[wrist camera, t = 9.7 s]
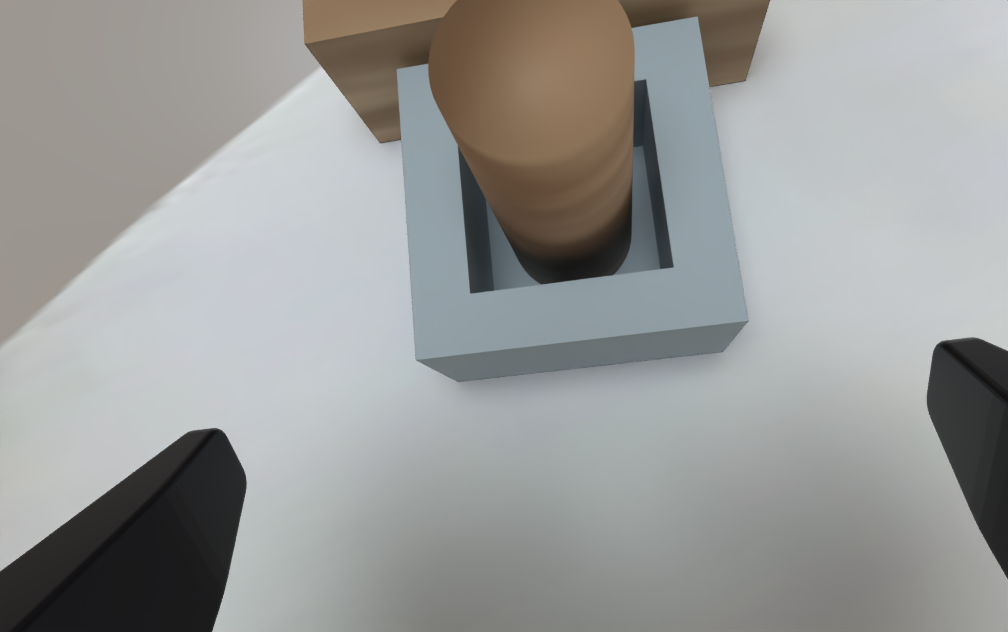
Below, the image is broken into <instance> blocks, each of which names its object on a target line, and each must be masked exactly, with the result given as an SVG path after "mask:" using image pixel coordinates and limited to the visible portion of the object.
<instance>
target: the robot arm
mask: <svg viewBox="0 0 1008 632" xmlns="http://www.w3.org/2000/svg"><path fill="white" fill-rule="evenodd" d="M927 407H928V411H929V415H930V418H931V420H932V422H933V425H934V427H935V429H936V432H937V434H938V436H939V438H940V441H941V443H942V445H943V448H944V450H945V452H946V455H947V457H948V459H949V462H950V464H951V466H952V469H953V471H954V473H955V476H956V478H957V480H958V483H959V485H960V487H961V490H962V492H963V494H964V496H965V499H966V501H967V503H968V506H969V508H970V510H971V512H972V515H973V517H974V519H975V521H976V523H977V525H978V527H979V529H980V531H981V533H982V535H983V537H984V538H985V540H986V542H987V544H988V546H989V547H990V549H991V551H992V553H993V554H994V556H995V558H996V560H997V561H998V563H999V565H1000V566H1001V568H1002V570H1003V572H1004V573H1005V575H1006V577H1007V578H1008V351H1007V350H1004V349H1002V348H1000V347H998V346H995V345H993V344H991V343H988V342H986V341H984V340H981V339H979V338H972V337H971V338H962V339H954V340H946V341H941V342H940V343H938V344H937V345H936V347H935V349H934V351H933V356H932V363H931V370H930V377H929V383H928V390H927ZM246 485H247V482H246V475H245V472H244V469H243V467H242V465H241V463H240V461H239V459H238V457H237V455H236V453H235V451H234V449H233V448H232V446H231V444H230V442H229V440H228V438H227V436H226V434H225V433H224V432H223V431H222V430H220V429H217V428H210V429H202V430H194V431H190V432H188V433H186V434H185V435H183V436H182V437H181V438H179V439H178V440H176V441H175V442H174V443H172V444H171V445H170V446H168V447H167V448H166V449H164V450H163V451H162V452H160V453H159V454H158V455H156V456H155V457H154V458H152V459H151V460H150V461H148V462H147V463H146V464H144V465H143V466H142V467H140V468H139V469H137V470H136V471H135V472H133V473H132V474H131V475H129V476H128V477H127V478H125V479H124V480H123V481H121V482H120V483H119V484H117V485H116V486H115V487H113V488H112V489H111V490H109V491H108V492H107V493H105V494H104V495H103V496H101V497H100V498H98V499H97V500H96V501H94V502H93V503H92V504H90V505H89V506H88V507H86V508H85V509H84V510H82V511H81V512H80V513H78V514H77V515H76V516H74V517H73V518H72V519H70V520H69V521H68V522H66V523H65V524H64V525H62V526H61V527H59V528H58V529H57V530H55V531H54V532H53V533H51V534H50V535H49V536H47V537H46V538H45V539H43V540H42V541H41V542H39V543H38V544H37V545H35V546H34V547H33V548H31V549H30V550H29V551H27V552H26V553H25V554H23V555H22V556H20V557H19V558H18V559H16V560H15V561H14V562H12V563H11V564H10V565H8V566H7V567H6V568H4V569H3V570H2V571H0V632H212V630H213V627H214V624H215V621H216V618H217V615H218V611H219V608H220V605H221V601H222V598H223V595H224V591H225V587H226V583H227V579H228V575H229V570H230V565H231V560H232V555H233V551H234V546H235V541H236V536H237V532H238V527H239V522H240V517H241V512H242V508H243V503H244V498H245V493H246Z"/></svg>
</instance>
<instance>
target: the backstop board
mask: <svg viewBox="0 0 1008 632" xmlns="http://www.w3.org/2000/svg"><path fill="white" fill-rule="evenodd" d="M456 1H457V0H303V21H304V41H305V45H306V46H307V48H308V49H309V50H310V52H311V53H312V54H313V56H314V57H315V58H316V60H317V61H318V62H319V64H320V65H321V66H322V67H323V69H324V70H325V71H326V73H327V74H328V75H329V77H330V78H331V79H332V81H333V82H334V83H335V85H336V86H337V87H338V89H339V90H340V91H341V92H342V94H343V95H344V96H345V98H346V99H347V100H348V102H349V103H350V104H351V106H352V107H353V108H354V110H355V111H356V112H357V113H358V115H359V116H360V117H361V119H362V120H363V121H364V123H365V124H366V125H367V127H368V128H369V129H370V131H371V132H372V133H373V134H374V136H375V137H376V138H377V140H378V141H379V142H380V143H383V142H389V141H394V140H400V139H401V127H400V112H399V97H398V82H397V69H401V68H407V67H412V66H418V65H424V64H428V61H429V53H430V48H431V44H432V40H433V37H434V35H435V33H436V30H437V28H438V26H439V24H440V22H441V20H442V19H443V17H444V15H445V14H446V13H447V11H448V10H449V9H450V7H451V6H452V5H453V4H454V3H455V2H456ZM618 1H619V3H620V4H621V6H622V8H623V9H624V11H625V13H626V15H627V17H628V20H629V22H630V25H631V28H635V27H641V26H646V25H652V24H658V23H663V22H669V21H675V20H681V19H686V18H692V17H698V22H699V28H700V34H701V40H702V46H703V52H704V58H705V64H706V70H707V76H708V82H709V87H711V86H716V85H722V84H728V83H734V82H740V81H746V77H747V74H748V71H749V68H750V64H751V61H752V58H753V54H754V51H755V48H756V45H757V41H758V38H759V35H760V32H761V28H762V25H763V22H764V19H765V15H766V12H767V9H768V5H769V2H770V0H618Z"/></svg>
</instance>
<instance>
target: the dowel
mask: <svg viewBox="0 0 1008 632" xmlns="http://www.w3.org/2000/svg"><path fill="white" fill-rule="evenodd" d="M634 64H635V47H634V37H633V32H632V28H631V25H630V22H629V20H628V17H627V15H626V13H625V11H624V9H623V8H622V6H621V4H620V3H619V1H618V0H457V1H456V2H455V3H454V4H453V5H452V6H451V7H450V9H449V10H448V11H447V13H446V14H445V15H444V17H443V19H442V20H441V22H440V24H439V26H438V28H437V30H436V33H435V35H434V37H433V40H432V44H431V48H430V53H429V61H428V76H429V82H430V88H431V91H432V94H433V98H434V100H435V102H436V104H437V106H438V108H439V110H440V112H441V114H442V116H443V118H444V120H445V122H446V124H447V126H448V127H449V129H450V131H451V133H452V135H453V137H454V139H455V141H456V143H457V145H458V146H459V148H460V150H461V152H462V154H463V156H464V158H465V160H466V162H467V164H468V166H469V167H470V169H471V171H472V173H473V175H474V177H475V179H476V181H477V183H478V185H479V186H480V188H481V190H482V192H483V194H484V196H485V198H486V200H487V202H488V204H489V205H490V207H491V209H492V211H493V213H494V215H495V217H496V219H497V221H498V223H499V225H500V226H501V228H502V230H503V232H504V234H505V236H506V238H507V240H508V242H509V244H510V245H511V247H512V249H513V251H514V253H515V255H516V257H517V259H518V261H519V263H520V264H521V266H522V267H523V269H524V270H525V271H526V273H527V274H528V275H529V276H530V277H531V278H533V279H534V280H535V281H537V282H538V283H540V284H541V285H542V284H550V283H558V282H565V281H573V280H581V279H588V278H596V277H604V276H612V275H614V274H615V273H616V272H617V271H618V269H619V268H620V267H621V265H622V264H623V262H624V261H625V259H626V257H627V254H628V252H629V249H630V244H631V236H632V185H633V125H634Z"/></svg>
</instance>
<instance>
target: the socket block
mask: <svg viewBox="0 0 1008 632" xmlns="http://www.w3.org/2000/svg"><path fill="white" fill-rule="evenodd" d="M632 32H633V37H634V47H635V64H634V125H633V185H632V236H631V244H630V249H629V252H628V254H627V257H626V259H625V261H624V262H623V264H622V265H621V267H620V268H619V269H618V271H617V272H616V273H615V274H614V275H612V276H604V277H596V278H588V279H581V280H573V281H565V282H558V283H550V284H542V285H541V284H540V283H538V282H537V281H535V280H534V279H533V278H531V277H530V276H529V275H528V274H527V273H526V271H525V270H524V269H523V267H522V266H521V264H520V263H519V261H518V259H517V257H516V255H515V253H514V251H513V249H512V247H511V245H510V244H509V242H508V240H507V238H506V236H505V234H504V232H503V230H502V228H501V226H500V225H499V223H498V221H497V219H496V217H495V215H494V213H493V211H492V209H491V207H490V205H489V204H488V202H487V200H486V198H485V196H484V194H483V192H482V190H481V188H480V186H479V185H478V183H477V181H476V179H475V177H474V175H473V173H472V171H471V169H470V167H469V166H468V164H467V162H466V160H465V158H464V156H463V154H462V152H461V150H460V148H459V146H458V145H457V143H456V141H455V139H454V137H453V135H452V133H451V131H450V129H449V127H448V126H447V124H446V122H445V120H444V118H443V116H442V114H441V112H440V110H439V108H438V106H437V104H436V102H435V100H434V98H433V94H432V91H431V88H430V82H429V76H428V64H424V65H418V66H412V67H407V68H401V69H397V82H398V97H399V112H400V127H401V143H402V158H403V173H404V188H405V204H406V219H407V234H408V249H409V264H410V280H411V295H412V310H413V325H414V341H415V356H416V360H417V361H419V362H421V363H422V364H424V365H426V366H428V367H430V368H432V369H434V370H436V371H438V372H440V373H442V374H444V375H446V376H448V377H450V378H452V379H453V380H455V381H457V382H461V381H470V380H479V379H488V378H496V377H505V376H514V375H523V374H532V373H541V372H549V371H558V370H567V369H576V368H585V367H594V366H602V365H611V364H620V363H629V362H638V361H647V360H655V359H664V358H673V357H682V356H691V355H700V354H709V353H717V352H723V351H724V350H725V349H726V347H727V346H728V345H729V344H730V342H731V341H732V340H733V339H734V338H735V336H736V335H737V334H738V333H739V332H740V330H741V329H742V328H743V327H744V325H745V324H746V323H747V322H748V315H747V309H746V303H745V297H744V291H743V286H742V280H741V274H740V268H739V262H738V256H737V250H736V244H735V238H734V232H733V226H732V220H731V214H730V208H729V202H728V196H727V190H726V184H725V178H724V172H723V166H722V160H721V154H720V148H719V142H718V136H717V130H716V124H715V118H714V112H713V106H712V100H711V94H710V88H709V82H708V76H707V70H706V64H705V58H704V52H703V46H702V40H701V34H700V28H699V22H698V17H692V18H686V19H681V20H675V21H669V22H663V23H658V24H652V25H646V26H641V27H635V28H632Z"/></svg>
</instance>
